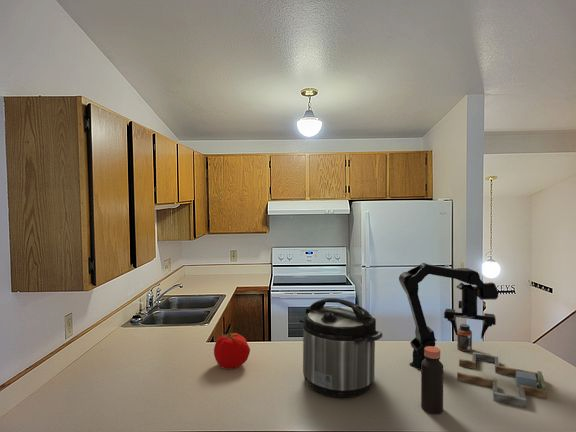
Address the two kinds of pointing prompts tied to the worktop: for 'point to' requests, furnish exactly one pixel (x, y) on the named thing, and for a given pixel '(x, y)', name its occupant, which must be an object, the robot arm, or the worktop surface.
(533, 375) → the block
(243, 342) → the tomato
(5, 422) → the worktop surface
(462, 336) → the supplement bottle
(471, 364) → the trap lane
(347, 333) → the pressure cooker
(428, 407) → the vinegar
